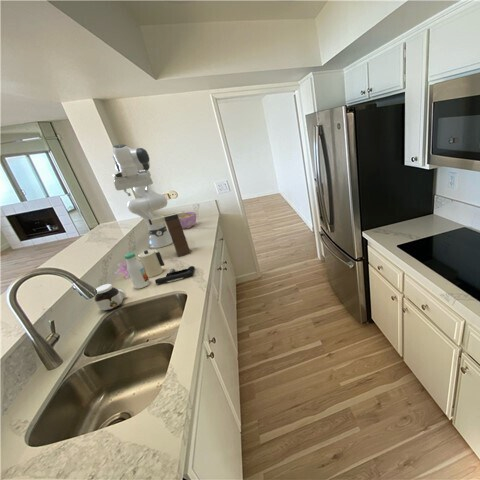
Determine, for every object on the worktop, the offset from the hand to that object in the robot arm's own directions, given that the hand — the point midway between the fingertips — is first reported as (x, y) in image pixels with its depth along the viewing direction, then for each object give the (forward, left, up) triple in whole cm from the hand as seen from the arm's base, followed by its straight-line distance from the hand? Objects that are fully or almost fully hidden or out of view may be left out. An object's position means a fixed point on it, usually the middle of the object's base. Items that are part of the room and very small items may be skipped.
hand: (138, 194), depth 169 cm
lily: (+13, -20, -46) cm, 52 cm away
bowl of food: (-62, +27, -46) cm, 82 cm away
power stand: (+3, +13, -46) cm, 48 cm away
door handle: (+38, +4, -46) cm, 60 cm away
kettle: (+23, -7, -46) cm, 52 cm away
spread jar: (+47, -27, -46) cm, 71 cm away
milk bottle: (+35, -14, -46) cm, 60 cm away
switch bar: (+3, +11, -20) cm, 23 cm away
